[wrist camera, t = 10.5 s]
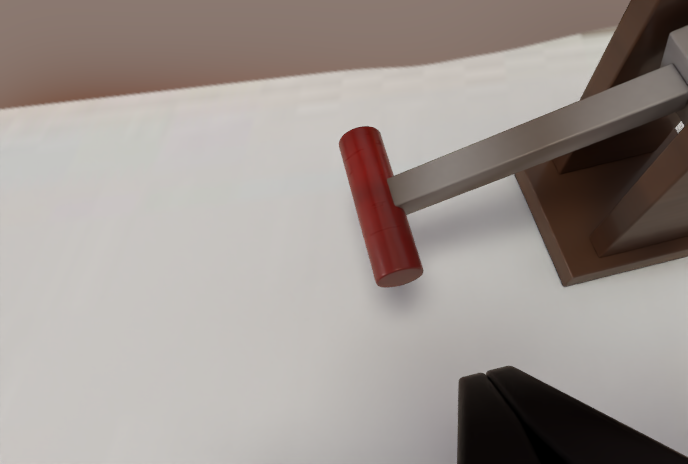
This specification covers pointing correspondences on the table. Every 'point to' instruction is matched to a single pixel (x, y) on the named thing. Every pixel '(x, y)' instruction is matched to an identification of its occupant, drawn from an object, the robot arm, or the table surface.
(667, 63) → the crank
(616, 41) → the rod bracket
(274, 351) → the table surface
